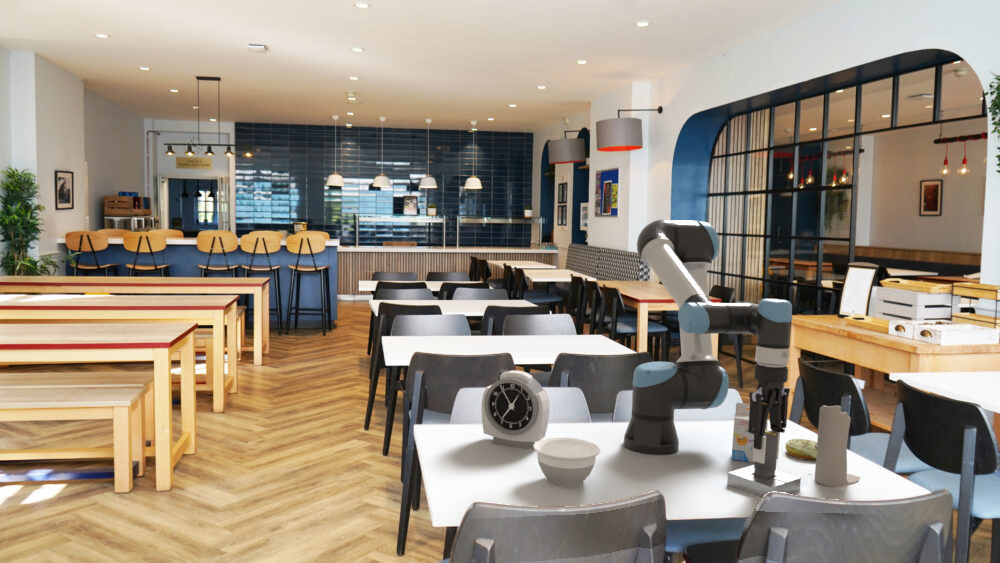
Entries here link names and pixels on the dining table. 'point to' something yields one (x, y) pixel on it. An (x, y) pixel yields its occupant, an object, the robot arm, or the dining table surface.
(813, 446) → the decorated donut
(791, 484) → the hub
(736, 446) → the ink box
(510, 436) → the alarm clock
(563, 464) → the bowl
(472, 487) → the dining table surface
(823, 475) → the grey boot shape
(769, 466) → the grey rectangular block
